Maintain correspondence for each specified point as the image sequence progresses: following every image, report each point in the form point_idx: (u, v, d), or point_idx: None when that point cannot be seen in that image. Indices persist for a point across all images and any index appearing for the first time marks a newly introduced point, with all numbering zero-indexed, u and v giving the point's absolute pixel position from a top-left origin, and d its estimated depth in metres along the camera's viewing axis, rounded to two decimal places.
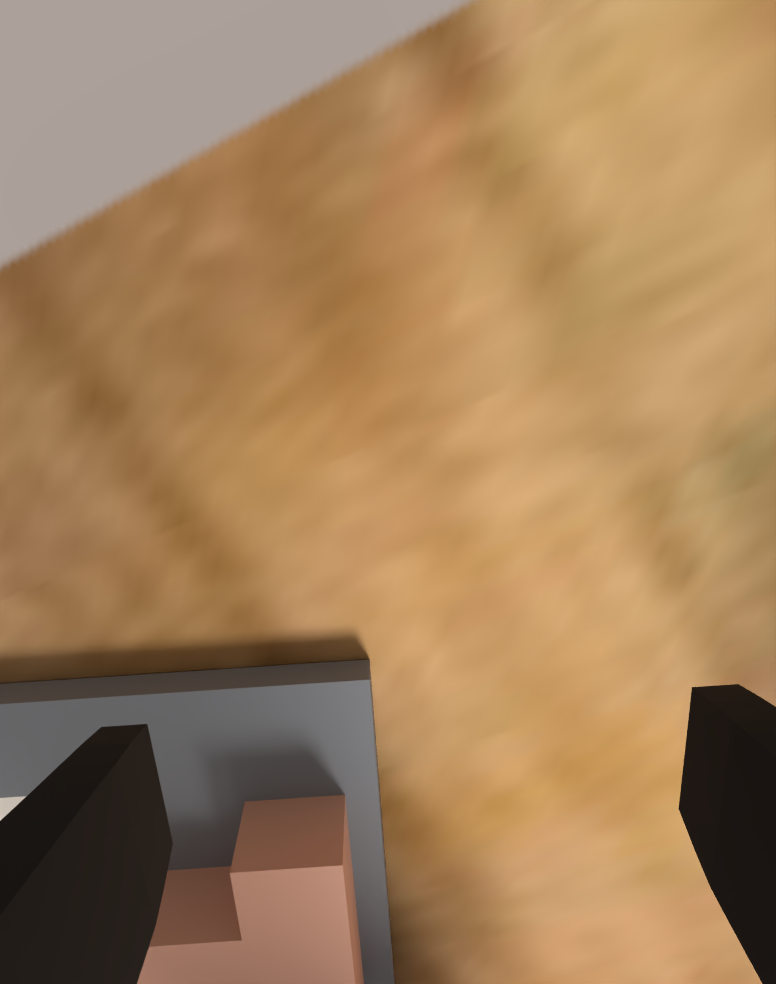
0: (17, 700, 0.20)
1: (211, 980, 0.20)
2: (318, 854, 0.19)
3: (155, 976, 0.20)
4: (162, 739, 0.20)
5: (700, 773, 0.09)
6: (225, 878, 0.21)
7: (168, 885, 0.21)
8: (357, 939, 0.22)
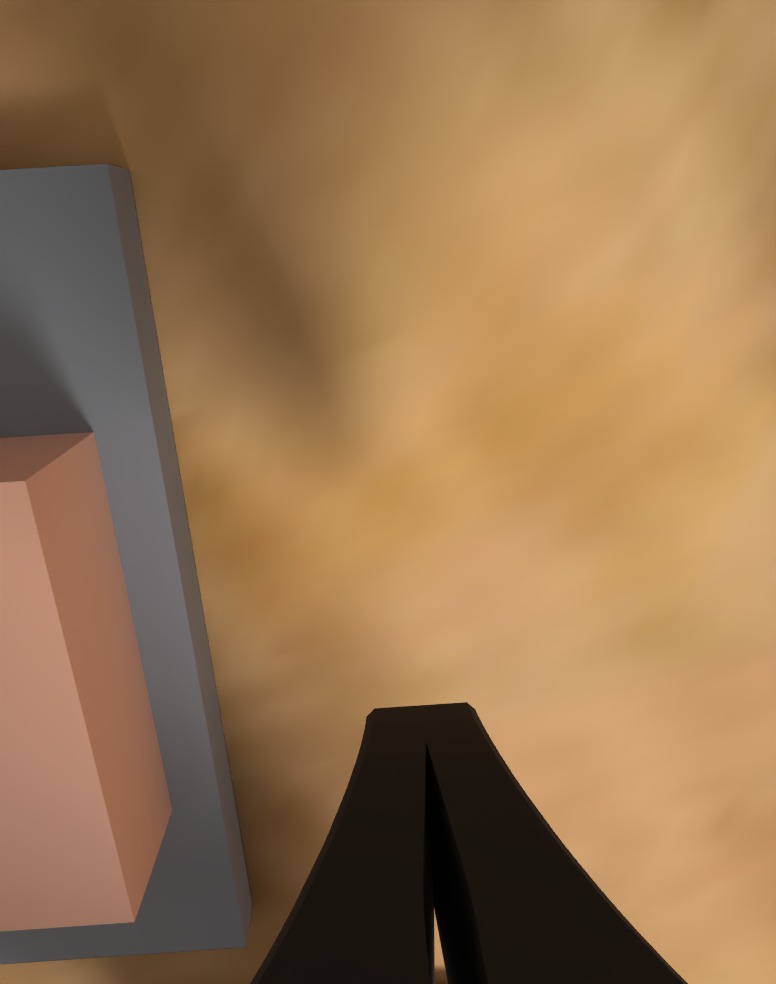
0: None
1: None
2: None
3: None
4: None
5: None
6: None
7: None
8: (136, 715, 0.13)
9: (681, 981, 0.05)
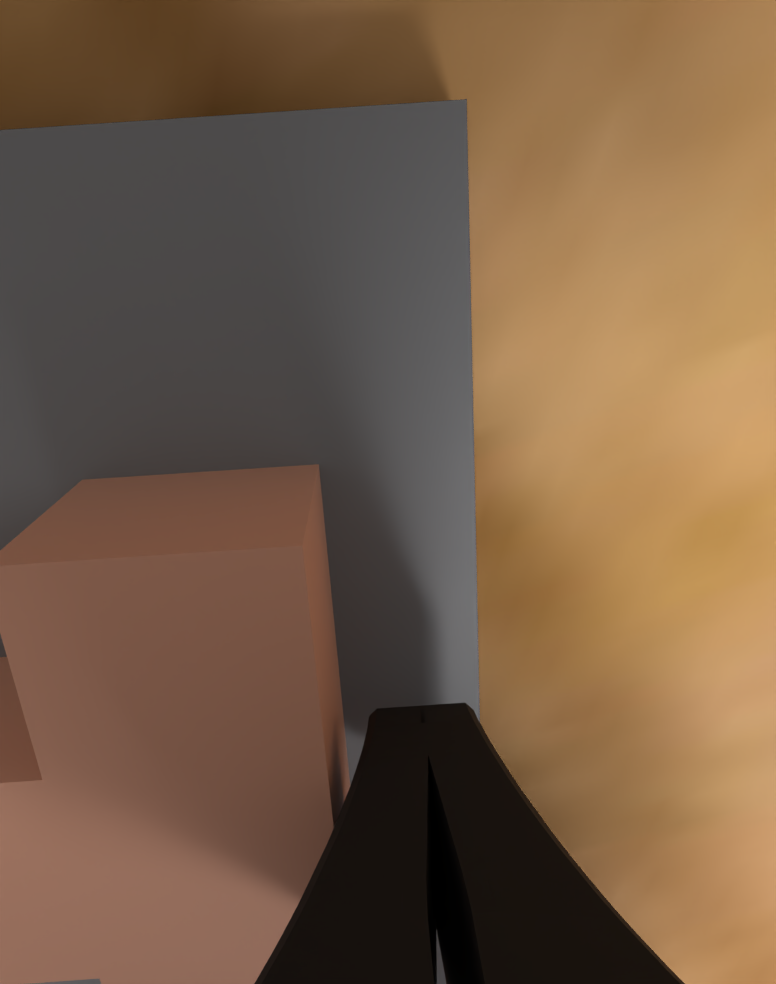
0: None
1: None
2: (239, 532, 0.07)
3: None
4: None
5: None
6: None
7: None
8: None
9: (678, 981, 0.05)
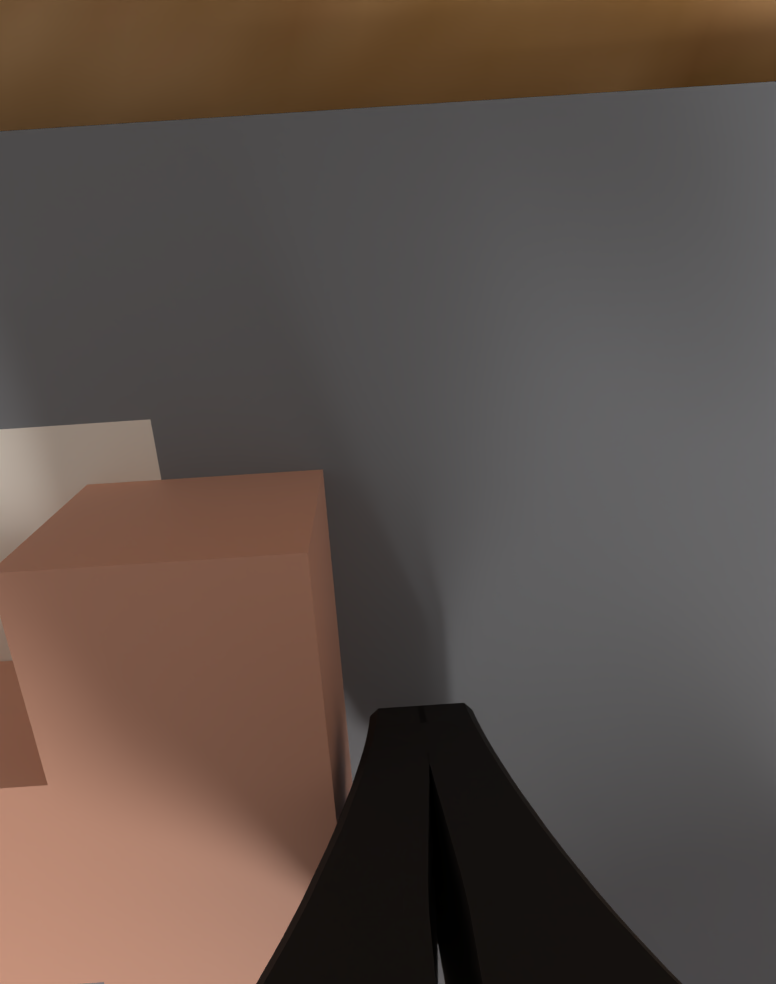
0: (88, 126, 0.08)
1: None
2: (244, 539, 0.07)
3: None
4: (444, 255, 0.08)
5: None
6: None
7: None
8: None
9: (676, 981, 0.05)
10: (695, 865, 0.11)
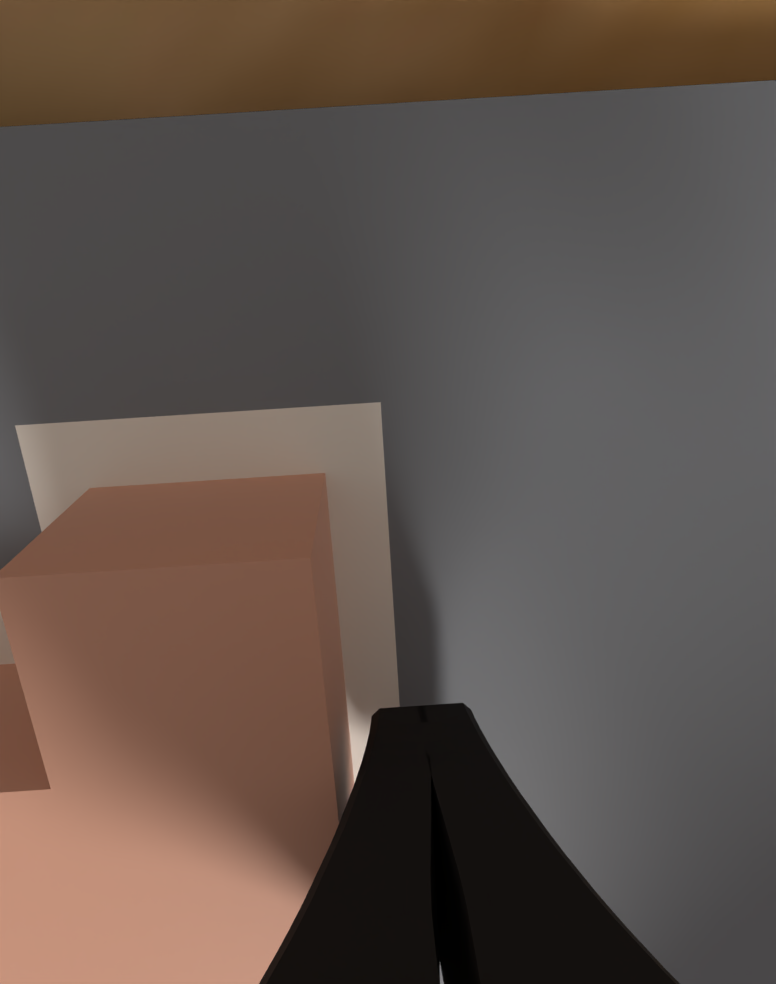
0: (350, 107, 0.08)
1: None
2: (248, 544, 0.07)
3: None
4: (691, 237, 0.08)
5: None
6: None
7: None
8: None
9: (673, 981, 0.05)
10: None
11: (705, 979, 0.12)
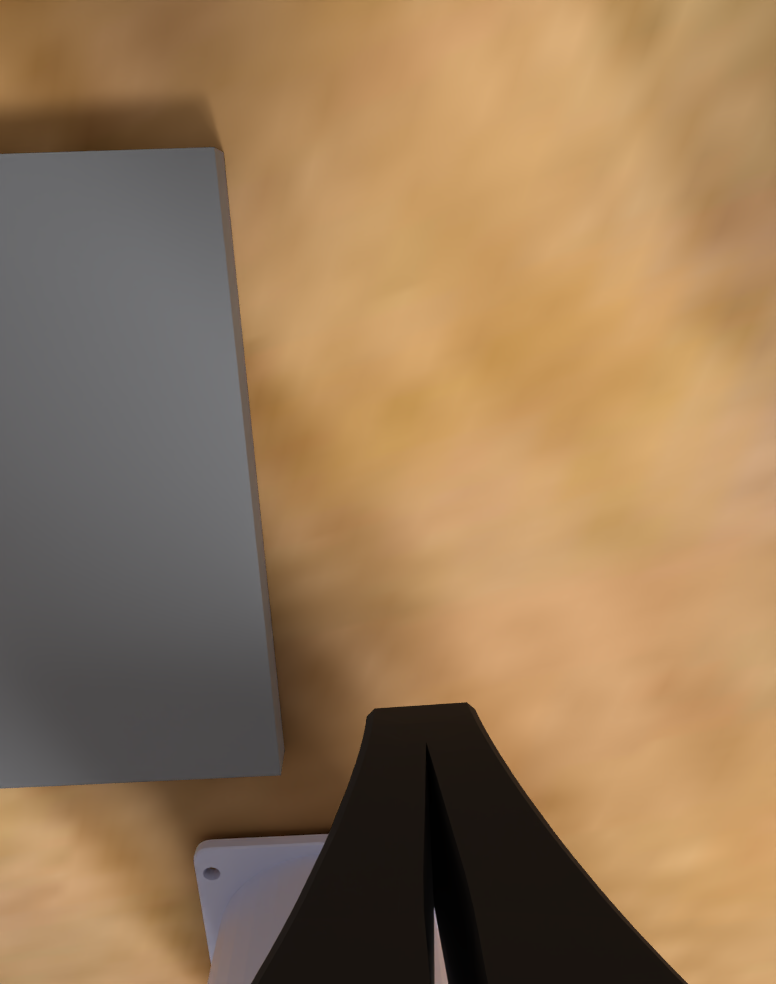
0: None
1: None
2: None
3: None
4: None
5: None
6: None
7: None
8: None
9: (681, 981, 0.05)
10: (177, 632, 0.18)
11: (102, 724, 0.19)
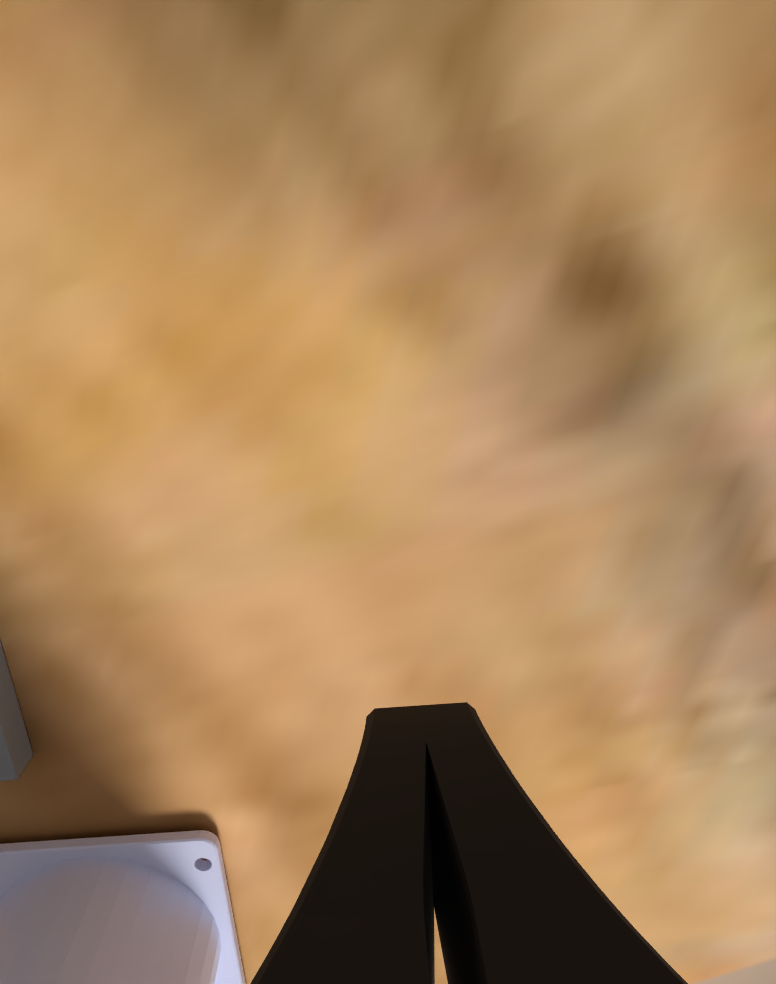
0: None
1: None
2: None
3: None
4: None
5: None
6: None
7: None
8: None
9: (681, 981, 0.05)
10: None
11: None
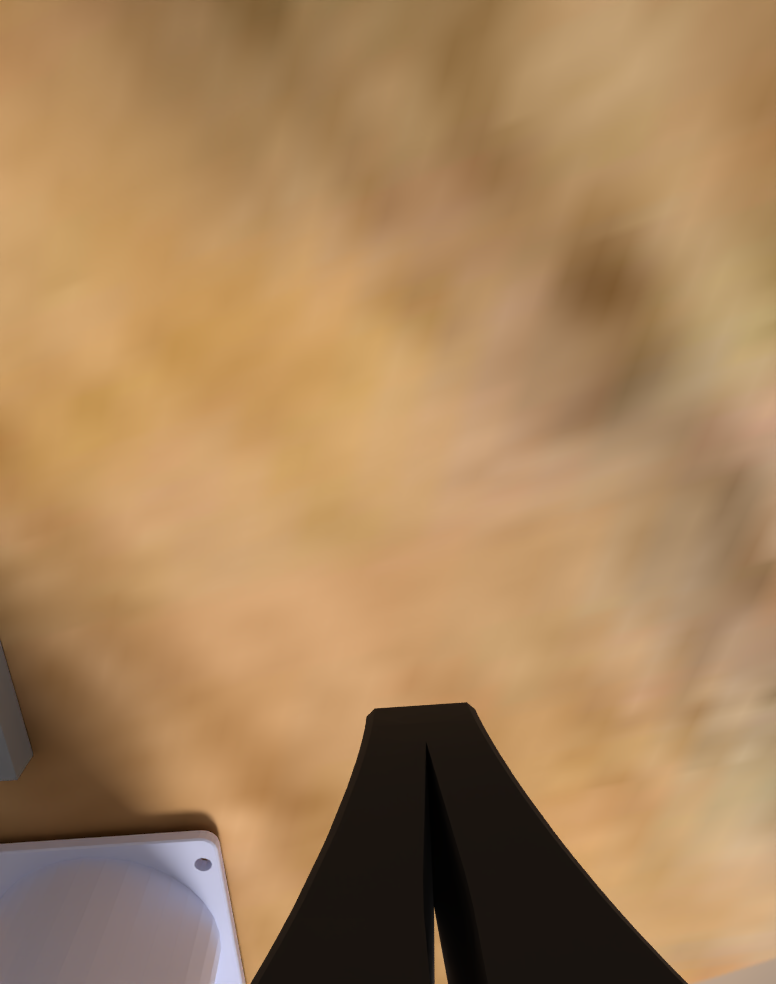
0: None
1: None
2: None
3: None
4: None
5: None
6: None
7: None
8: None
9: (681, 981, 0.05)
10: None
11: None
